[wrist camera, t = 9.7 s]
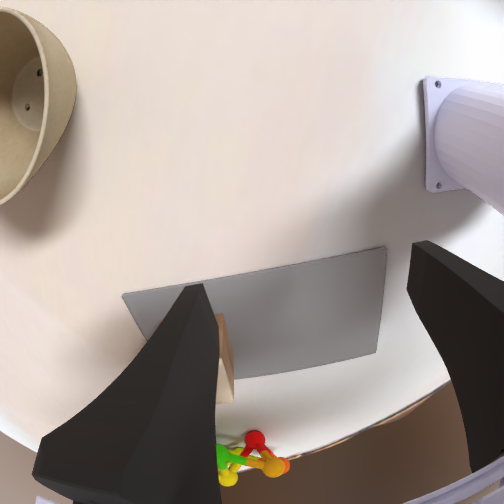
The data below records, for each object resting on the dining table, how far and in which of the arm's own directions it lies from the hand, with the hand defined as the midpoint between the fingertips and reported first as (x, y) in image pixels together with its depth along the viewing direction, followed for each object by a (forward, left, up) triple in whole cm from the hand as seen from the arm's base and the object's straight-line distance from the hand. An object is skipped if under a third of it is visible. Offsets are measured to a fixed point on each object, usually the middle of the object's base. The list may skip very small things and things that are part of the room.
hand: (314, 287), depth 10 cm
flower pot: (+13, -10, -10) cm, 19 cm away
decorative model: (+11, +33, -10) cm, 36 cm away
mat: (+3, +12, -10) cm, 16 cm away
